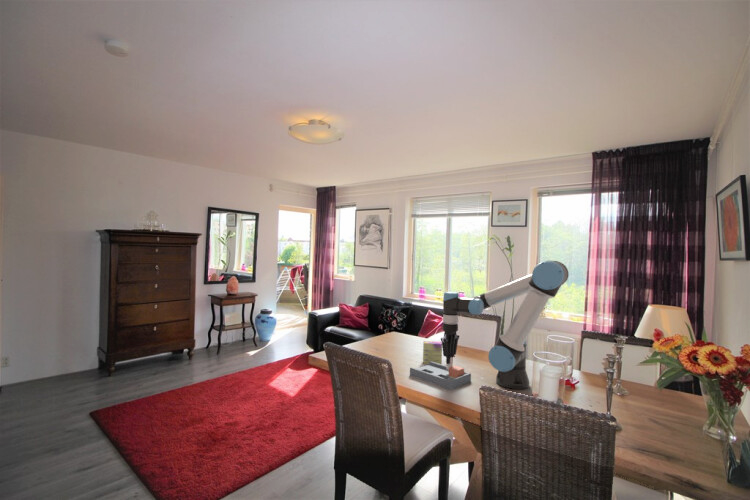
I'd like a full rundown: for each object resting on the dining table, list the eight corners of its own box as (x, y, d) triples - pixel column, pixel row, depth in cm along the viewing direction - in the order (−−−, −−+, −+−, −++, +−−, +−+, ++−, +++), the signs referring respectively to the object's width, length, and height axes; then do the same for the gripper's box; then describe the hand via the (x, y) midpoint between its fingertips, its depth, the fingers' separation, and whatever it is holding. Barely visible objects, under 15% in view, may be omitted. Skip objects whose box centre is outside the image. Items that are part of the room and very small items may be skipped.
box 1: (440, 361, 206) (441, 341, 207) (441, 364, 201) (442, 343, 201) (422, 360, 207) (423, 340, 208) (423, 363, 202) (423, 343, 202)
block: (464, 376, 175) (464, 368, 175) (458, 378, 172) (458, 370, 172) (454, 373, 179) (454, 365, 179) (448, 375, 176) (448, 367, 176)
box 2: (470, 381, 175) (470, 373, 175) (450, 390, 164) (450, 381, 164) (430, 368, 194) (430, 361, 194) (409, 375, 182) (409, 367, 182)
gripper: (451, 320, 186) (450, 365, 186) (436, 323, 177) (435, 370, 177) (464, 322, 180) (463, 369, 180) (448, 325, 171) (447, 374, 171)
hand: (449, 369), depth 179 cm, fingers closed
